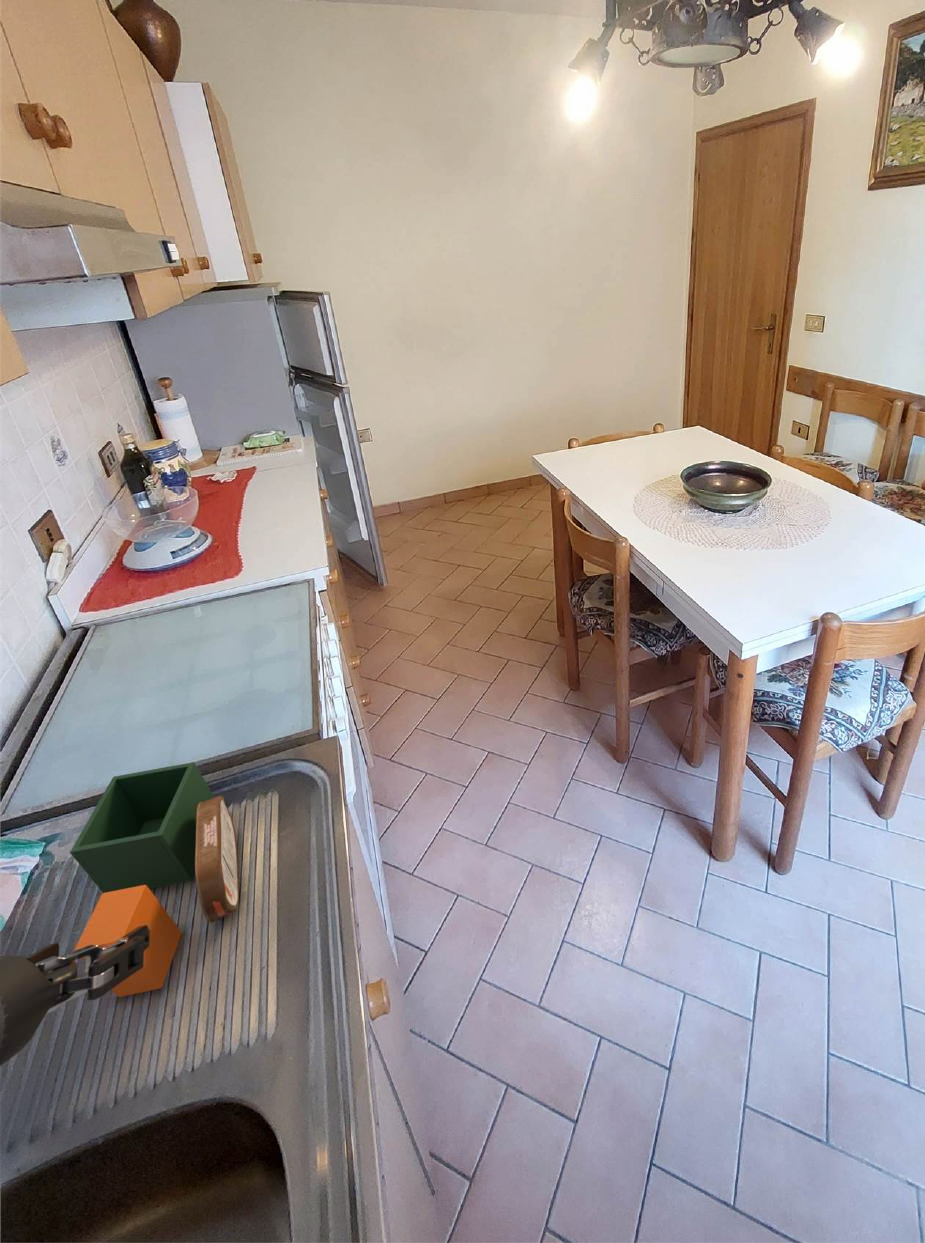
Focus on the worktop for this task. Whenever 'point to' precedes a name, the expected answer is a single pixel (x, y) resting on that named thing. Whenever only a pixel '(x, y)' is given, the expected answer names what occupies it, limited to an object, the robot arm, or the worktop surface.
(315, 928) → the worktop surface
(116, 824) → the waste bin
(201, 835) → the tin
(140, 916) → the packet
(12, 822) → the worktop surface
